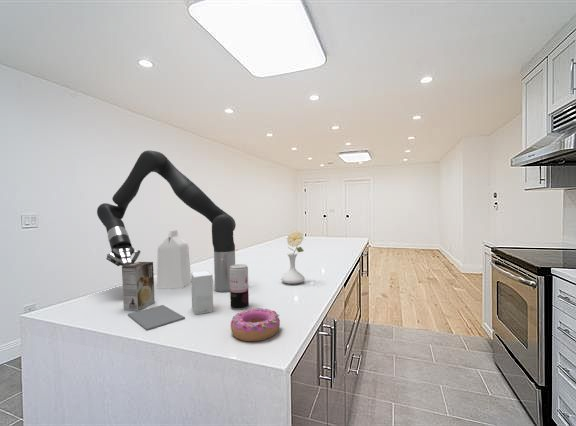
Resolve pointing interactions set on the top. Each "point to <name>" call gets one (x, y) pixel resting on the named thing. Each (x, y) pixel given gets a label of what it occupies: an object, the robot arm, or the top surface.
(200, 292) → the small box
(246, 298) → the beverage can
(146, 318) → the mat
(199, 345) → the top surface
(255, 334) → the donut
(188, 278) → the milk
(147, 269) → the coffee box
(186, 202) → the robot arm
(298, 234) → the flower in vase
